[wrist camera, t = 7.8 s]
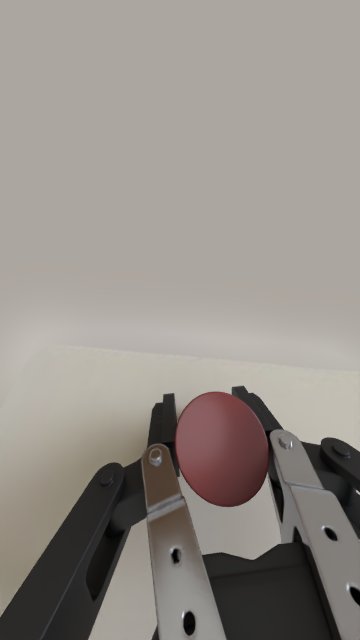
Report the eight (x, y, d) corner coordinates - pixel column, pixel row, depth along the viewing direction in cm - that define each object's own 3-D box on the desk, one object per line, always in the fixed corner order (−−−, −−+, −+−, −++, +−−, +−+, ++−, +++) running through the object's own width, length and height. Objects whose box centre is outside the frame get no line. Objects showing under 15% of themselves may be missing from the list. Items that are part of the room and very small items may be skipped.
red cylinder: (171, 451, 14) (160, 479, 7) (187, 399, 16) (190, 379, 9) (221, 473, 13) (265, 530, 6) (231, 416, 15) (273, 409, 8)
